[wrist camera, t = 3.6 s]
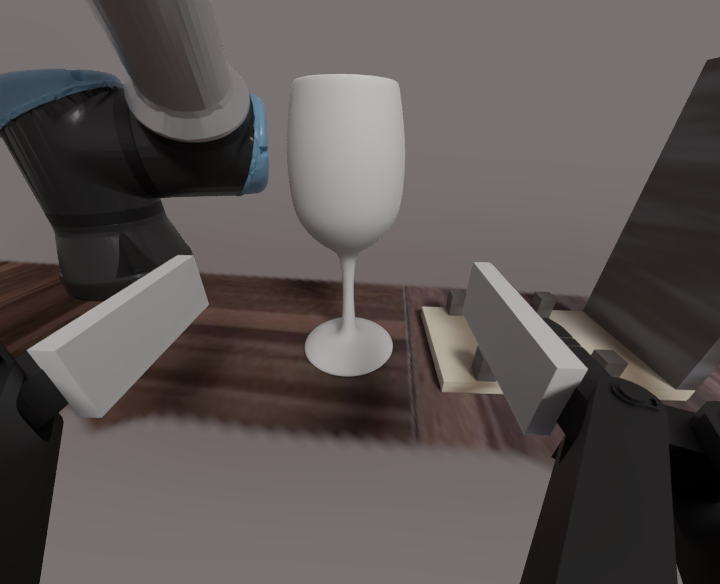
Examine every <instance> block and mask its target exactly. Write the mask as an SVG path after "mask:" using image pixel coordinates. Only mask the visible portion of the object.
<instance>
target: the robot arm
mask: <svg viewBox="0 0 720 584" xmlns="http://www.w3.org/2000/svg"><path fill="white" fill-rule="evenodd" d="M85 1H86V2H87V4H88V6H89V8H90V9H91V11H92V13H93V15H94V16H95V18H96V20H97V21H98V23H99V25H100V26H101V28H102V30H103V31H104V33H105V35H106V37H107V38H108V40H109V42H110V44H111V45H112V47H113V49H114V50H115V52H116V54H117V56H118V57H119V59H120V60H121V62H122V64H123V66H124V67H125V69H126V71H127V72H128V76H127V78H126V82H125V87H124V85H123V84H122V83H121V82H120V80H119V79H118V78H117V77H116V76H114V75H112V74H109V73H105V72H99V71H92V70H66V69H43V70H42V69H40V70H26V71H16V72H9V73H4V74H0V137H1V138H2V139H3V141H4V142H5V144H6V146H7V148H8V149H9V151H10V153H11V155H12V156H13V158H14V160H15V162H16V164H17V165H18V167H19V169H20V171H21V172H22V174H23V176H24V178H25V179H26V181H27V183H28V185H29V187H30V188H31V190H32V192H33V194H34V196H35V197H36V199H37V201H38V203H39V204H40V206H41V208H42V210H43V211H44V213H45V215H46V217H47V219H48V220H49V222H50V224H51V226H52V228H53V230H54V233H55V239H56V246H57V254H58V260H59V265H60V269H59V278H60V280H61V282H62V284H63V285H64V287H65V289H66V290H67V292H68V294H69V295H71V296H73V297H75V298H79V299H85V300H106V301H104V302H102V303H101V304H99V305H98V306H96V307H94V308H93V309H91V310H90V311H88V312H87V313H85V314H83V315H82V316H80V317H79V318H77V319H75V320H74V321H72V322H71V323H69V324H67V325H66V326H64V327H63V328H61V329H60V330H58V331H56V332H55V333H53V334H52V335H50V336H48V337H47V338H45V339H44V340H42V341H41V342H39V343H37V344H36V345H34V346H33V347H31V348H29V349H28V350H27V351H25V352H24V353H22V354H21V355H19V356H18V357H16V358H13V357H12V355H11V354H10V353H9V352H8V351H7V349H6V348H5V347H4V346H3V344H2V343H1V342H0V584H39V582H40V576H41V569H42V563H43V556H44V549H45V543H46V536H47V529H48V522H49V516H50V509H51V503H52V496H53V488H54V483H55V476H56V469H57V462H58V456H59V449H60V443H61V436H62V429H63V418H62V416H61V415H60V414H59V412H60V411H61V410H62V409H63V408H64V407H65V406H66V405H68V404H69V406H70V407H71V408H72V410H73V411H74V412H75V413H76V415H77V416H78V417H98V418H102V417H103V416H104V415H105V414H106V413H107V412H108V410H109V409H110V408H111V407H112V406H113V405H114V404H115V403H116V402H117V401H118V400H119V399H120V398H121V397H122V396H123V395H124V394H125V393H126V391H127V390H128V389H129V388H130V387H131V386H132V385H133V384H134V383H135V382H136V381H137V380H138V379H139V378H140V377H141V376H142V375H143V374H144V372H145V371H146V370H147V369H148V368H149V367H150V366H151V365H152V364H153V363H154V362H155V361H156V360H157V359H158V358H159V357H160V356H161V355H162V353H163V352H164V351H165V350H166V349H167V348H168V347H169V346H170V345H171V344H172V343H173V342H174V341H175V340H176V339H177V338H178V337H179V336H180V334H181V333H182V332H183V331H184V330H185V329H186V328H187V327H188V326H189V325H190V324H191V323H192V322H193V321H194V320H195V319H196V318H197V317H198V315H199V314H200V313H201V312H202V311H203V310H204V309H205V308H206V307H207V306H208V305H209V303H208V300H207V297H206V294H205V291H204V287H203V284H202V281H201V278H200V274H199V271H198V268H197V265H196V262H195V258H194V256H193V254H192V251H191V249H190V247H189V246H188V245H187V244H186V243H185V242H184V240H183V239H182V237H181V236H180V234H179V233H178V231H177V230H176V228H175V227H174V226H173V225H172V223H171V222H170V220H169V219H168V218H167V216H166V214H165V211H164V208H163V205H162V203H161V200H160V198H170V197H197V196H242V195H244V194H253V193H260V192H262V191H263V190H264V189H265V187H266V186H267V182H268V169H269V167H268V166H269V165H268V152H267V149H268V146H267V143H268V139H267V127H266V117H265V111H264V105H263V102H262V100H261V99H260V98H259V97H258V96H255V95H253V94H251V93H248V90H247V87H246V85H245V82H244V81H243V79H242V78H241V76H240V75H239V74H238V73H237V72H236V70H235V69H233V68H232V67H231V66H230V65H229V64H227V62H226V58H225V54H224V50H223V45H222V41H221V37H220V33H219V29H218V24H217V20H216V17H215V12H214V8H213V3H212V0H85ZM462 313H463V315H464V317H465V319H466V321H467V323H468V325H469V327H470V329H471V331H472V333H473V335H474V337H475V339H476V341H477V342H478V344H479V346H480V348H481V350H482V352H483V354H484V356H485V358H486V360H487V362H488V364H489V366H490V368H491V370H492V372H493V374H494V376H495V378H496V380H497V382H498V384H499V386H500V388H501V390H502V392H503V394H504V396H505V398H506V400H507V402H508V404H509V406H510V408H511V410H512V412H513V414H514V416H515V418H516V420H517V422H518V424H519V426H520V428H521V429H522V431H523V433H524V434H525V435H550V434H551V432H552V431H553V429H554V427H555V426H556V424H557V423H558V424H559V426H560V427H561V429H562V430H563V432H564V434H565V436H564V438H563V439H562V441H561V442H560V444H559V446H558V447H557V449H556V450H555V452H554V454H553V455H552V458H554V459H556V460H555V464H554V467H553V471H552V474H551V478H550V481H549V484H548V488H547V492H546V495H545V498H544V502H543V505H542V509H541V512H540V516H539V519H538V522H537V526H536V529H535V533H534V537H533V540H532V543H531V547H530V550H529V554H528V557H527V560H526V564H525V567H524V571H523V574H522V578H521V581H520V584H678V583H677V567H678V570H679V573H680V576H681V579H682V582H683V584H720V402H719V401H708V402H706V403H705V404H704V405H703V406H702V407H701V408H700V409H699V410H698V411H697V412H696V413H694V412H690V411H686V410H682V409H678V408H674V407H670V406H667V405H664V404H663V403H662V402H661V401H660V400H659V399H658V398H657V397H656V396H655V395H654V394H652V393H651V392H650V391H648V390H647V389H645V388H644V387H642V386H640V385H638V384H636V383H634V382H632V381H629V380H625V379H622V378H619V377H612V376H611V375H610V374H609V373H608V372H607V371H606V370H605V369H604V368H603V367H602V366H601V365H600V364H599V363H598V362H597V361H596V360H595V359H594V358H593V357H592V356H591V355H590V354H589V353H588V352H587V351H586V350H585V349H584V348H583V347H581V345H580V344H579V343H578V342H577V341H576V340H575V339H573V338H572V336H571V335H570V334H569V333H568V332H567V331H566V330H565V328H564V327H562V326H561V325H559V324H558V323H556V322H554V321H553V320H551V319H549V318H541V317H540V316H539V315H538V314H537V313H536V312H535V311H534V310H533V308H532V307H531V306H530V305H529V304H528V303H527V302H526V301H525V300H524V299H523V298H522V296H521V295H520V294H519V293H518V292H517V291H516V290H515V289H514V288H513V287H512V286H511V284H510V283H509V282H508V281H507V280H506V279H505V278H504V277H503V276H502V275H501V274H500V272H498V270H497V269H496V268H495V267H494V266H493V265H492V264H491V263H487V262H474V263H473V267H472V271H471V276H470V280H469V284H468V288H467V292H466V297H465V301H464V305H463V310H462ZM676 564H677V567H676Z"/></svg>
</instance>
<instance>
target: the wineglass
mask: <svg viewBox="0 0 720 584" xmlns="http://www.w3.org/2000/svg"><path fill="white" fill-rule="evenodd" d="M287 163H288V175H289V183H290V190H291V196H292V201H293V205H294V208H295V211H296V214H297V216H298V218H299V220H300V222H301V224H302V225H303V226H304V228H305V229H306V230H307V232H308V233H309V234H310V235H311V236H312V237H313V238H314V239H316V240H317V241H318V242H319V243H321V244H322V245H324V246H326V247H327V248H329V249H331V250H333V251H334V252H336V253H337V255H338V256H339V259H340V263H341V268H342V279H343V315H342V318H337V319H333V320H329V321H327V322H325V323H322V324H321V325H319V326H317V327H316V328H315V329H314V330H313V331H312V332H311V333H310V334H309V335H308V337H307V339H306V342H305V353H306V356H307V358H308V360H309V361H310V362H311V363H312V364H313V365H314V366H315V367H316V368H318V369H320V370H321V371H323V372H326V373H329V374H332V375H337V376H359V375H363V374H367V373H370V372H372V371H374V370H376V369H378V368H379V367H381V366H382V365H383V364H384V363H385V362H386V361H387V360H388V359H389V357H390V355H391V353H392V349H393V344H392V340H391V337H390V335H389V334H388V333H387V331H386V330H385V329H384V328H382V327H381V326H380V325H378V324H376V323H374V322H372V321H369V320H366V319H362V318H356V317H355V314H354V293H353V289H354V268H355V262H356V258H357V255H358V254H359V253H360V252H361V251H363V250H364V249H366V248H368V247H369V246H371V245H373V244H374V243H375V242H377V241H378V240H379V239H380V238H382V237H383V235H384V234H385V233H386V232H387V231H388V230H389V228H390V227H391V226H392V224H393V222H394V221H395V219H396V216H397V214H398V211H399V208H400V204H401V198H402V192H403V183H404V172H405V138H404V124H403V114H402V105H401V96H400V89H399V85H398V83H397V82H396V81H394V80H391V79H388V78H383V77H377V76H368V75H355V74H324V75H311V76H304V77H300V78H297V79H295V80H294V81H293V82H292V86H291V94H290V104H289V115H288V131H287Z"/></svg>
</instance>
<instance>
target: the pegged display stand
mask: <svg viewBox="0 0 720 584" xmlns="http://www.w3.org/2000/svg"><path fill="white" fill-rule="evenodd" d="M465 297H466V294H465V292H464V290H449V294H448V299H447V304H446V307H422V311H421V318H422V321H423V325H424V329H425V332H426V336H427V340H428V344H429V347H430V351H431V355H432V358H433V362H434V366H435V369H436V373H437V377H438V380H439V384H440V388H441V391H442V392H458V393H486V394H503V392H502V390H501V388H500V386H499V384H498V382H497V380H496V378H495V376H494V374H493V372H492V370H491V368H490V366H489V364H488V362H487V360H486V358H485V356H484V354H483V352H482V350H481V348H480V346H479V344H478V342H477V341H476V339H475V337H474V335H473V333H472V331H471V329H470V327H469V325H468V323H467V321H466V319H465V317H464V315H463V313H462V310H463V305H464V301H465ZM556 301H557V299H556V298H555V297H554V296H553V295H552V294H550V293H549V292H535V293H534V296H533V298H532V301H531V304H530V306H531V307H532V308H533V310H534V311H535V312H536V313H537V314H538V315H539V316H540V317H541V318H549V319H551V320H553V321H554V322H556V323H558V324H559V325H561V326H562V327H564V328H565V330H566V331H567V332H568V333H569V334H570V335H571V336H572V338H573V339H575V340H576V341H577V342H578V343H579V344H580V345H581V347H583V348H584V349H585V350H586V351H587V352H588V353H589V354H590V355H591V356H592V357H593V358H594V359H595V360H596V361H597V362H598V363H599V364H600V365H601V366H602V367H603V368H604V369H605V370H606V371H607V372H608V373H609V374H610V375H611V376H612V377H619V378H622V379H625V380H629V381H632V382H634V383H636V384H638V385H640V386H642V387H644V388H645V389H647V390H648V391H650V392H651V393H652V394H654V395H655V396H656V397H657V398H658V399H659V400H681V401H687V400H688V398H689V397H690V396H691V395H692V394H693V393H694V392H695V391H696V389H697V388H698V387H699V386H700V385H701V384H702V383H703V382H704V381H705V379H706V378H707V377H708V376H709V375H710V374H711V373H712V372H713V370H714V369H715V368H716V367H717V366H718V365H719V364H720V57H719V58H714V59H710V60H707V62H706V63H705V66H704V68H703V70H702V72H701V74H700V76H699V78H698V80H697V82H696V84H695V86H694V88H693V90H692V92H691V94H690V96H689V98H688V100H687V102H686V104H685V106H684V108H683V110H682V112H681V114H680V116H679V118H678V120H677V122H676V124H675V126H674V128H673V130H672V132H671V134H670V136H669V138H668V141H667V142H666V144H665V146H664V149H663V150H662V152H661V154H660V157H659V159H658V160H657V163H656V164H655V167H654V168H653V171H652V172H651V175H650V177H649V179H648V181H647V183H646V185H645V187H644V189H643V191H642V193H641V195H640V197H639V199H638V201H637V203H636V205H635V207H634V209H633V211H632V213H631V215H630V217H629V219H628V221H627V223H626V225H625V227H624V229H623V231H622V233H621V235H620V237H619V239H618V241H617V243H616V245H615V247H614V249H613V251H612V253H611V255H610V257H609V259H608V261H607V263H606V265H605V267H604V269H603V272H602V273H601V275H600V278H599V279H598V281H597V283H596V285H595V288H594V289H593V292H592V294H591V296H590V298H589V300H588V302H587V304H586V306H585V308H584V310H583V311H561V310H553V308H554V305H555V303H556Z"/></svg>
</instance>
